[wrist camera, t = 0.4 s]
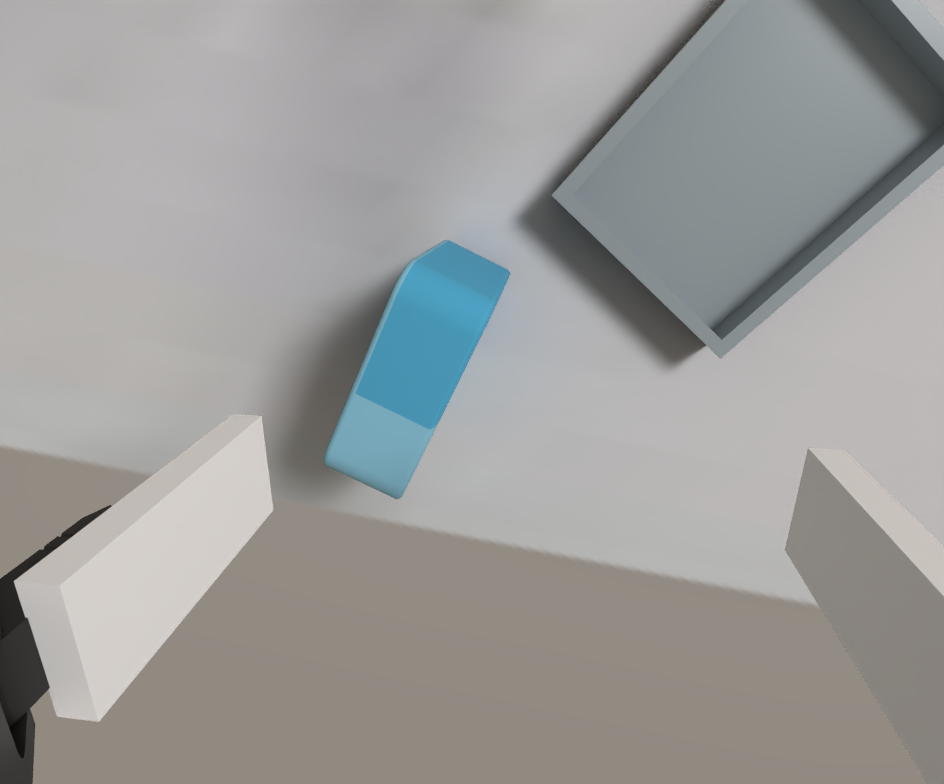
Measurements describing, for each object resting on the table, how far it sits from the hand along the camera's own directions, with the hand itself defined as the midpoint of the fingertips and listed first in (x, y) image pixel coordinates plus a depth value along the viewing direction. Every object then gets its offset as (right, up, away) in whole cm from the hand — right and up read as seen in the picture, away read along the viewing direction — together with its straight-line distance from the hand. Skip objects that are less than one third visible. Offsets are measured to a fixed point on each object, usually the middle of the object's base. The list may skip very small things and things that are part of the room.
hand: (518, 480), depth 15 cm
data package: (-3, +6, +25) cm, 26 cm away
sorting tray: (+14, +16, +19) cm, 28 cm away
